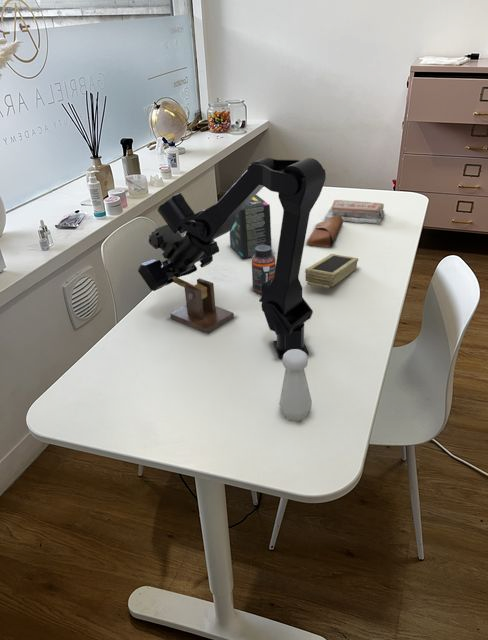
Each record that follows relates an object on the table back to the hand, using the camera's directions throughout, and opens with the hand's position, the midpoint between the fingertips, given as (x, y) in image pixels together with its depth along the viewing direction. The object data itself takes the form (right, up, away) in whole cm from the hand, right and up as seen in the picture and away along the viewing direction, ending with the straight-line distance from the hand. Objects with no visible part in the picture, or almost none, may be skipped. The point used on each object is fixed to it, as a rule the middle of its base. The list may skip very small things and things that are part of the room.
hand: (162, 280), depth 135 cm
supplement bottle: (+24, -1, +8) cm, 26 cm away
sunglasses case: (+43, +18, +37) cm, 60 cm away
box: (+43, +2, +13) cm, 45 cm away
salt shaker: (+30, -28, -34) cm, 53 cm away
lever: (+5, -3, -3) cm, 7 cm away
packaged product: (+54, +27, +50) cm, 79 cm away
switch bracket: (+10, -9, -3) cm, 14 cm away
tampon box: (+21, +12, +30) cm, 38 cm away
